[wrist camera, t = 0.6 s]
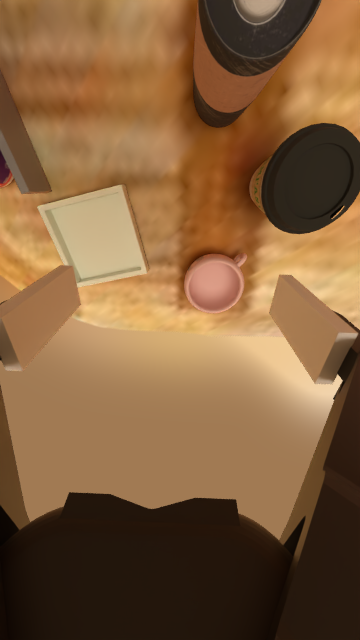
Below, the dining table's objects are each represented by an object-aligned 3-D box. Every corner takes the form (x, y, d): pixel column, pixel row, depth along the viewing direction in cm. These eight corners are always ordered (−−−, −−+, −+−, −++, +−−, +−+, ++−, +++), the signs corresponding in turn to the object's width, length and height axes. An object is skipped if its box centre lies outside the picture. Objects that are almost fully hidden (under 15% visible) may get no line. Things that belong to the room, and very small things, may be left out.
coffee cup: (277, 127, 32) (341, 85, 19) (315, 183, 35) (392, 181, 22) (223, 186, 36) (245, 186, 23) (262, 233, 39) (301, 256, 26)
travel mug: (256, 113, 31) (343, 20, 14) (203, 141, 33) (221, 88, 16) (241, 37, 28) (332, -214, 11) (182, 71, 29) (177, -96, 12)
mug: (208, 310, 46) (211, 325, 41) (173, 276, 43) (171, 288, 38) (258, 269, 42) (268, 280, 37) (223, 227, 39) (229, 233, 33)
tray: (45, 205, 37) (36, 206, 35) (125, 184, 36) (121, 184, 34) (80, 283, 44) (74, 288, 42) (149, 268, 42) (147, 273, 40)
